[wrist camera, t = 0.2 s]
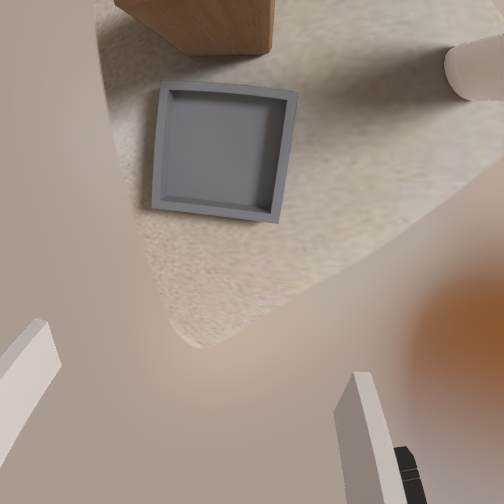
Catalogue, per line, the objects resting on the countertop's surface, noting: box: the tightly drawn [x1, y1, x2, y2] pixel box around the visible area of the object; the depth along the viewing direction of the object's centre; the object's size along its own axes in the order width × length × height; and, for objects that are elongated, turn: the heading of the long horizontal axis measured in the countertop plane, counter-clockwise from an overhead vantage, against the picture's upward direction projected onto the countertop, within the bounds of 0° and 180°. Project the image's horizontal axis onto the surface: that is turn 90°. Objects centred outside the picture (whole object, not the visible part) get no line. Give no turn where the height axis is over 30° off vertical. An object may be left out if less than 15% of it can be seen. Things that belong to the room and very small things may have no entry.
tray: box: [152, 81, 298, 224], centre depth 33 cm, size 14×14×4 cm
